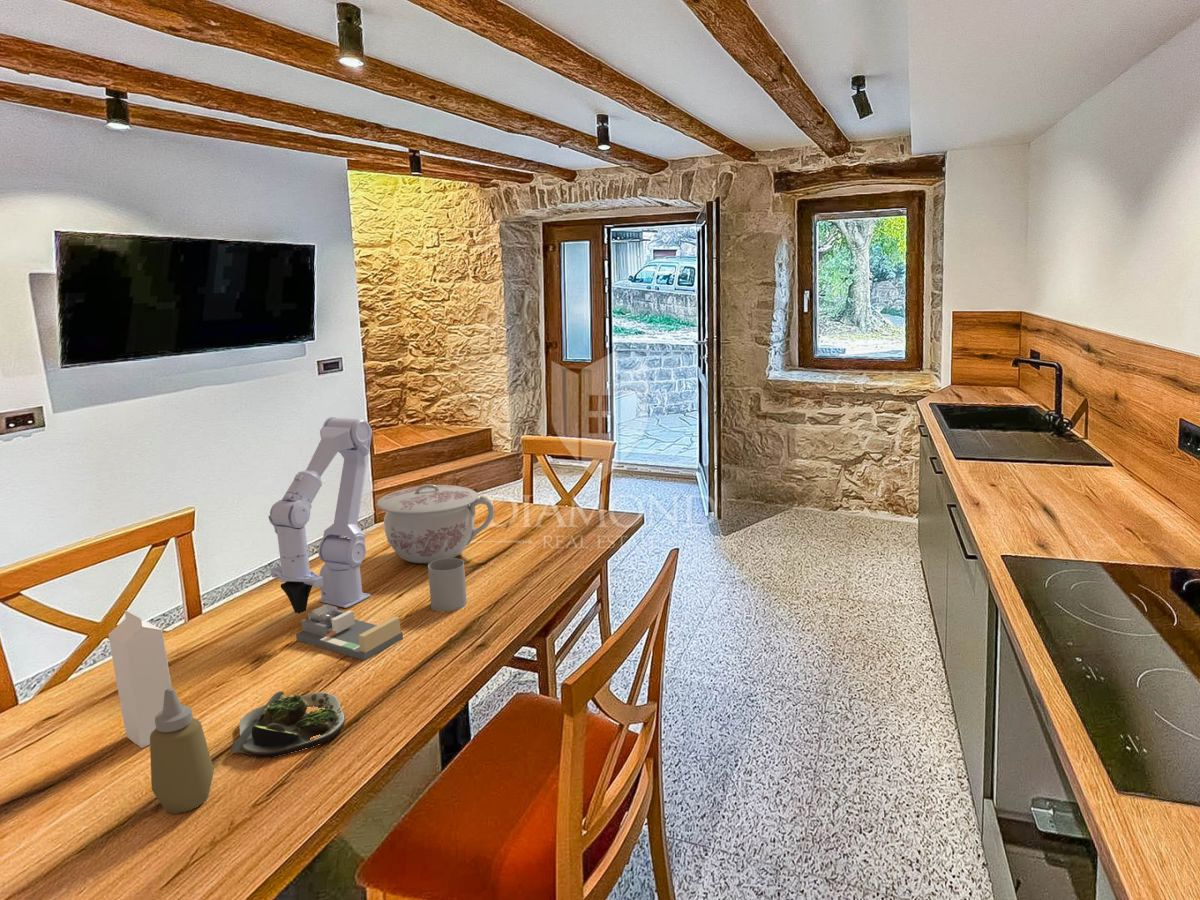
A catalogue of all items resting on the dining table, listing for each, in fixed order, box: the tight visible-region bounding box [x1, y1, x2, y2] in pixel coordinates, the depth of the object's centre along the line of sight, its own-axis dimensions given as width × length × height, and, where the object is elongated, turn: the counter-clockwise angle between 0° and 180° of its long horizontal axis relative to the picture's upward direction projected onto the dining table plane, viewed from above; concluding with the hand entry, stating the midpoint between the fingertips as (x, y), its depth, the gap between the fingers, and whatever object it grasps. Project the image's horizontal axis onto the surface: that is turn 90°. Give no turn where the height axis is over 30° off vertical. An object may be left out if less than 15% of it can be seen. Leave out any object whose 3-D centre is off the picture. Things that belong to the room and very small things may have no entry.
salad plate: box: [230, 691, 346, 758], centre depth 131 cm, size 19×18×5 cm
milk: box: [108, 610, 173, 749], centre depth 127 cm, size 6×6×22 cm
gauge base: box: [295, 609, 404, 662], centre depth 163 cm, size 20×11×5 cm, turn 61°
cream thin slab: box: [326, 609, 355, 637], centre depth 162 cm, size 1×7×3 cm, turn 151°
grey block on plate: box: [307, 603, 339, 628], centre depth 165 cm, size 6×5×4 cm
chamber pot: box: [376, 483, 495, 565], centre depth 211 cm, size 28×28×21 cm
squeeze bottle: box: [149, 687, 215, 814], centre depth 110 cm, size 8×8×18 cm
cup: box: [427, 557, 468, 612], centre depth 179 cm, size 8×8×10 cm
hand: (300, 611), depth 170 cm, fingers closed
